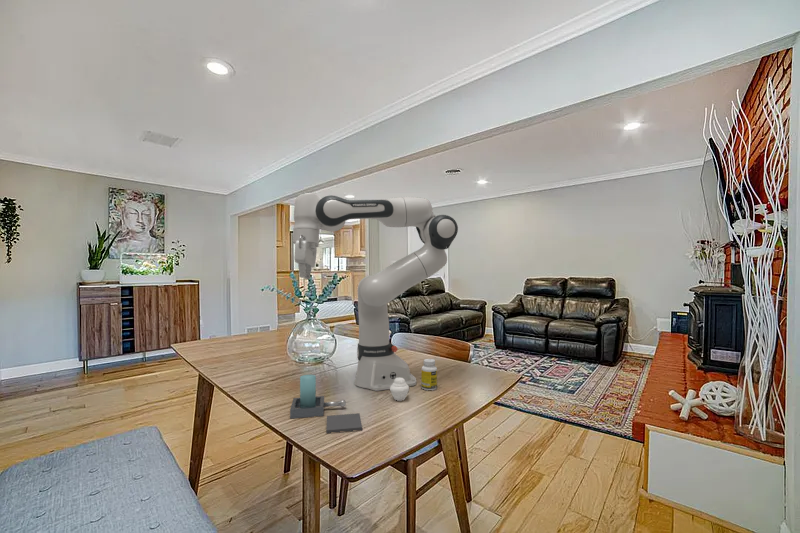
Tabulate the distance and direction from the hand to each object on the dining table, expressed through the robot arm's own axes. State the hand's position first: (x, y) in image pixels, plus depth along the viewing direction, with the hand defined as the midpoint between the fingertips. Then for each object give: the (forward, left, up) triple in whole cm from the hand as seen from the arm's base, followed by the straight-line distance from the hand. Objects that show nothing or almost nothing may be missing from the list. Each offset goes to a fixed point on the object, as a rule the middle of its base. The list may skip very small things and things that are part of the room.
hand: (304, 278), depth 123 cm
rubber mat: (-12, +31, -38) cm, 51 cm away
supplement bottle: (-42, +8, -38) cm, 58 cm away
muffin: (-30, +16, -38) cm, 51 cm away
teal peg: (-2, +20, -38) cm, 43 cm away
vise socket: (-6, +20, -38) cm, 44 cm away
